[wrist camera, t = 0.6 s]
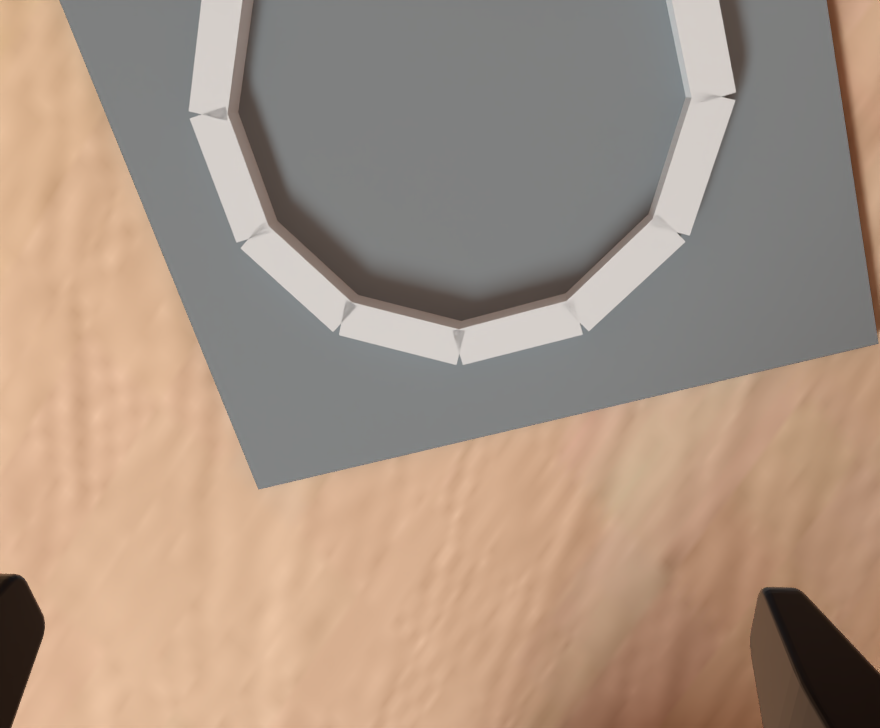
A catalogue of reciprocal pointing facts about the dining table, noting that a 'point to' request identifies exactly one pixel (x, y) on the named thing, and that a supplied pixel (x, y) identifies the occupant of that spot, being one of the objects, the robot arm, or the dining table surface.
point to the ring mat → (482, 205)
